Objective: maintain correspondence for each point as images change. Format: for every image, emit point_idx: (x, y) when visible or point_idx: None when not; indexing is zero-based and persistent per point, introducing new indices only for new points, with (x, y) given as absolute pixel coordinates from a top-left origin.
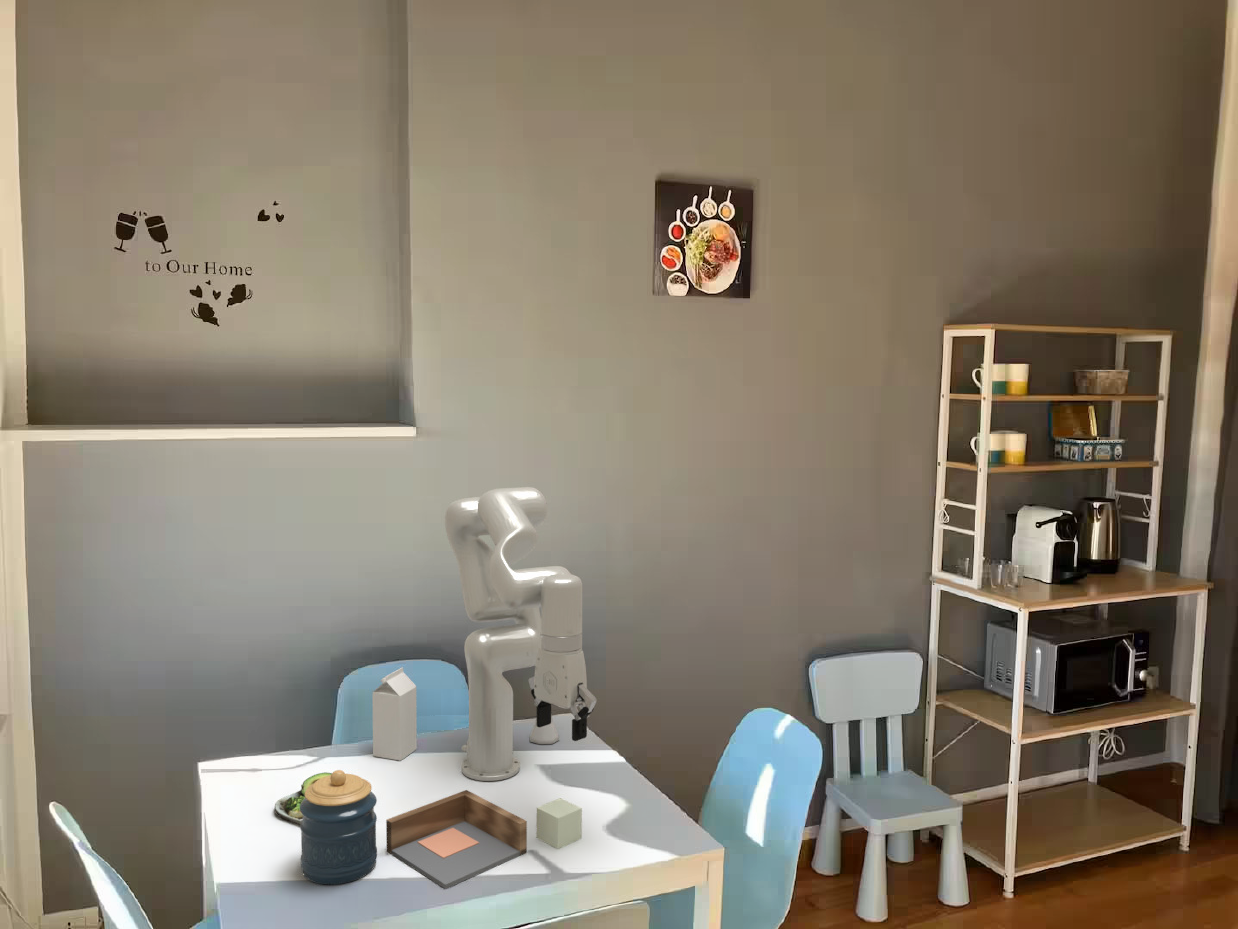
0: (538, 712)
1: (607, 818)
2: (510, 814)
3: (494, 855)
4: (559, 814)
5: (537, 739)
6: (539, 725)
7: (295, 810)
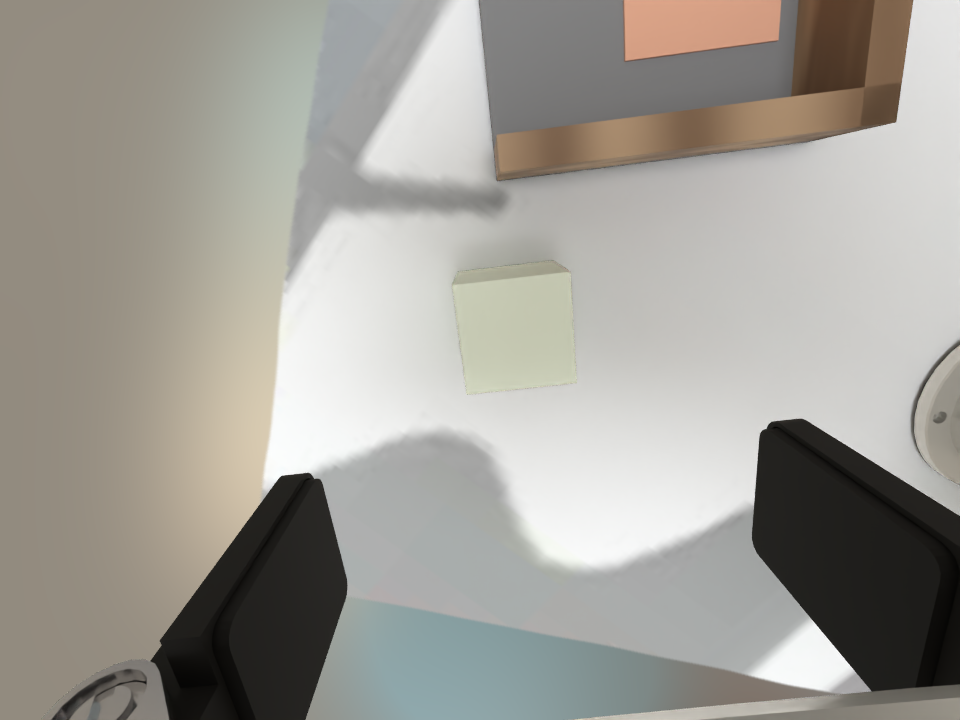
0: (900, 509)
1: (517, 479)
2: (586, 149)
3: (522, 59)
4: (473, 306)
5: None
6: (772, 433)
7: None
